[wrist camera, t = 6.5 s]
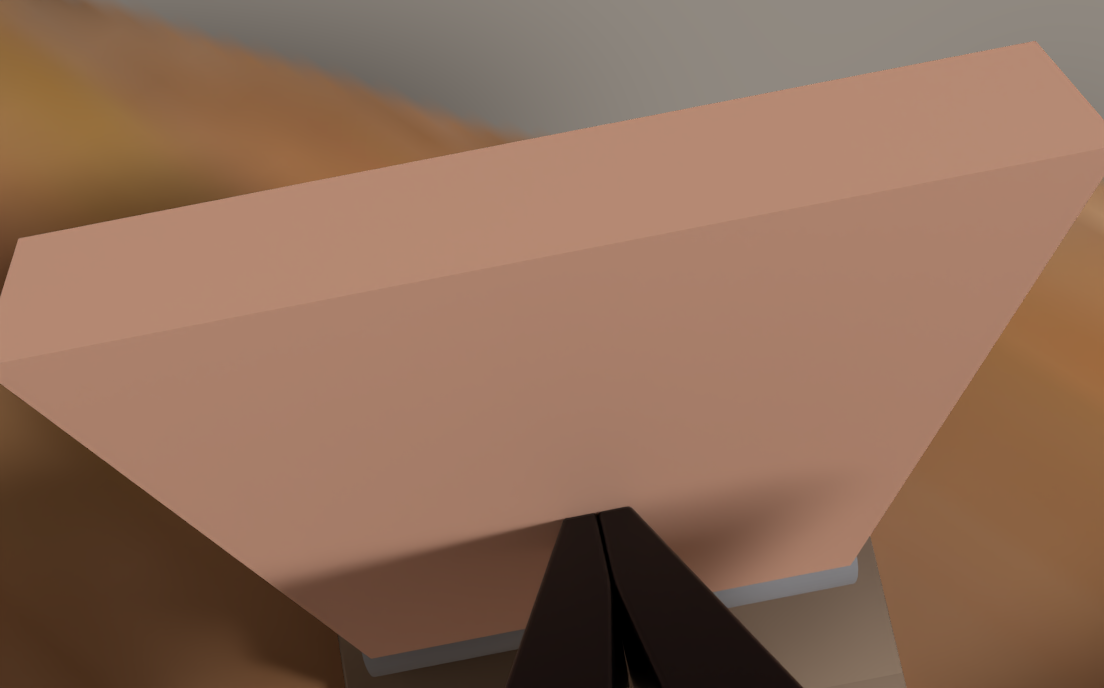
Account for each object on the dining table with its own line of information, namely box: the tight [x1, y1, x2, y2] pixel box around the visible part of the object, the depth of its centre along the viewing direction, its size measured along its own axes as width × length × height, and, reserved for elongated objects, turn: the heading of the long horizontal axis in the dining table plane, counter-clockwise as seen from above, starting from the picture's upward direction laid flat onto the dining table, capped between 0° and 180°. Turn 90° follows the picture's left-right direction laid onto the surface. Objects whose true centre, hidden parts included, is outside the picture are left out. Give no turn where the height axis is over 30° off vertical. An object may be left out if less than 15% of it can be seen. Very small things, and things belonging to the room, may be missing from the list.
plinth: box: [338, 536, 906, 688], centre depth 16 cm, size 8×12×4 cm, turn 101°
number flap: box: [0, 41, 1104, 677], centre depth 10 cm, size 1×8×10 cm, turn 100°
